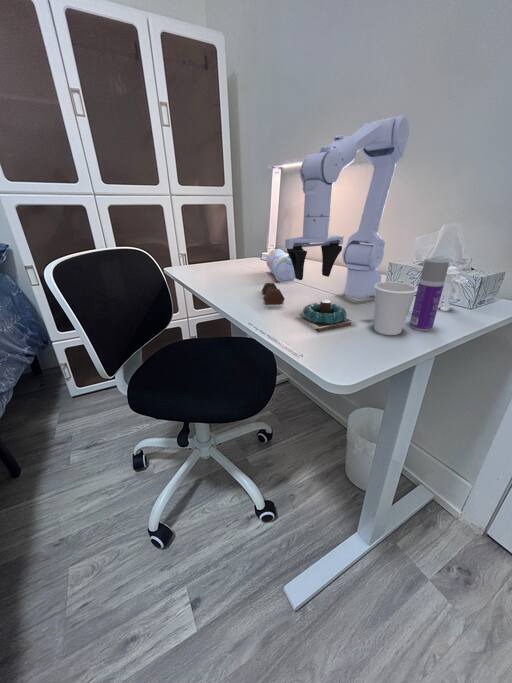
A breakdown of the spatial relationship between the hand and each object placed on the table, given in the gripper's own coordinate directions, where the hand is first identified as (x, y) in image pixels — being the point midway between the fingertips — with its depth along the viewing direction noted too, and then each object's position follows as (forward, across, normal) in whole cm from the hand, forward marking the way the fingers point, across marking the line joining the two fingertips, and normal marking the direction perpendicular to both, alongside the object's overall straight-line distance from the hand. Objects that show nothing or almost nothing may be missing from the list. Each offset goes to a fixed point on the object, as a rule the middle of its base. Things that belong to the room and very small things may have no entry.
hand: (312, 277), depth 70 cm
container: (+10, -19, +17) cm, 27 cm away
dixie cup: (+10, -11, +15) cm, 21 cm away
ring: (+7, 0, +5) cm, 9 cm away
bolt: (+10, +3, -16) cm, 19 cm away
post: (+10, -1, +5) cm, 11 cm away
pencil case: (+10, -13, -41) cm, 44 cm away
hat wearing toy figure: (+10, -35, +10) cm, 38 cm away
